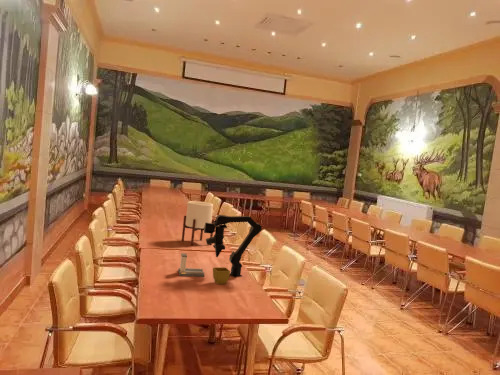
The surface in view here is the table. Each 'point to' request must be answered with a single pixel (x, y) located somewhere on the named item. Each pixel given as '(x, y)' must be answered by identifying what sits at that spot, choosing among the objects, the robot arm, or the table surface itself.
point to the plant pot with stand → (197, 218)
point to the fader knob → (183, 261)
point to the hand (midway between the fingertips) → (216, 257)
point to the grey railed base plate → (191, 272)
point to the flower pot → (221, 275)
